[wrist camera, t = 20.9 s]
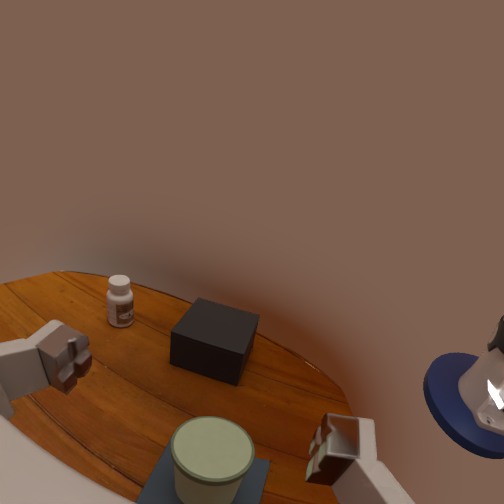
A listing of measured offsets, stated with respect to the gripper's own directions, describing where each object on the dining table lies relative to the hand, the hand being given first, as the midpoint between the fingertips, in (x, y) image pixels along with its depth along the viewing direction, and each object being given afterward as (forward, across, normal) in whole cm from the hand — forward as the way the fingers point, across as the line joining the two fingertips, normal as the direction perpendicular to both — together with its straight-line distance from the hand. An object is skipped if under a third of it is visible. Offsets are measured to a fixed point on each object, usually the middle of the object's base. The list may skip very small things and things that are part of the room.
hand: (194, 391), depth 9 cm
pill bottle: (+29, +23, +24) cm, 44 cm away
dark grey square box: (+28, +6, +24) cm, 38 cm away
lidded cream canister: (+6, 0, +23) cm, 24 cm away
